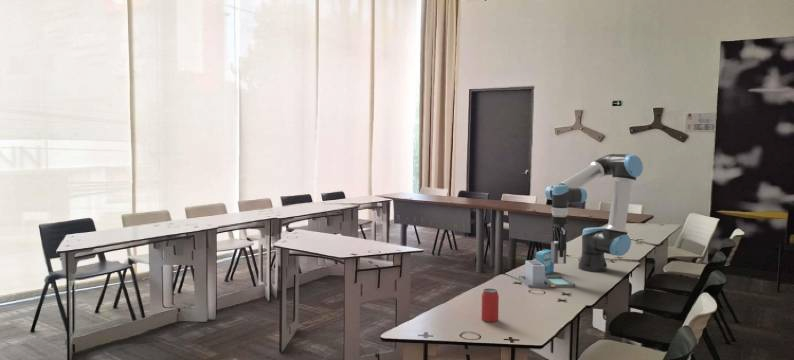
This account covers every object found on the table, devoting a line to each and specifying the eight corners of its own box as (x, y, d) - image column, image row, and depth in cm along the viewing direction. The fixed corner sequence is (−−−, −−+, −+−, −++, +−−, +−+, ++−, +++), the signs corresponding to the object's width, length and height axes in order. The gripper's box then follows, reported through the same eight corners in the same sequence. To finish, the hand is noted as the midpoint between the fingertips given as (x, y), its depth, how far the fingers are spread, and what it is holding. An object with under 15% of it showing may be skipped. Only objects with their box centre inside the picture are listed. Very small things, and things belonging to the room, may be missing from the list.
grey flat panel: (562, 278, 274) (562, 275, 274) (576, 288, 255) (576, 285, 255) (518, 278, 272) (518, 276, 272) (529, 289, 254) (530, 286, 254)
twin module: (536, 279, 270) (537, 259, 270) (544, 286, 258) (544, 265, 258) (525, 279, 270) (525, 259, 269) (532, 286, 258) (532, 265, 257)
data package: (542, 275, 279) (543, 253, 278) (535, 274, 282) (535, 252, 281) (553, 271, 287) (554, 250, 287) (546, 270, 291) (546, 248, 290)
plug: (562, 261, 267) (562, 240, 266) (565, 263, 262) (566, 242, 261) (550, 261, 266) (551, 240, 266) (554, 263, 261) (554, 242, 261)
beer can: (479, 317, 213) (480, 288, 212) (495, 316, 214) (496, 287, 213) (483, 322, 207) (484, 292, 206) (500, 322, 207) (500, 292, 206)
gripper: (546, 213, 271) (544, 258, 273) (558, 218, 253) (557, 266, 255) (560, 213, 272) (559, 257, 273) (574, 218, 254) (572, 266, 255)
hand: (558, 261), depth 264 cm, fingers closed on plug, 5 cm apart
